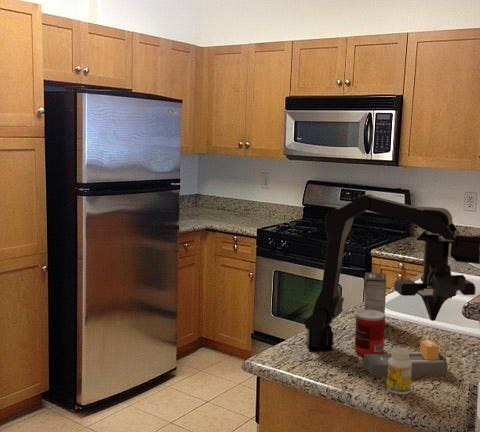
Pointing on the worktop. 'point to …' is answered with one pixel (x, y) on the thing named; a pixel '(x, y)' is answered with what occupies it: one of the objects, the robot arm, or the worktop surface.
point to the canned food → (369, 332)
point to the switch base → (420, 365)
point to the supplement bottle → (399, 372)
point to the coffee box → (375, 291)
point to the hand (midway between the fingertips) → (432, 320)
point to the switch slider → (429, 350)
